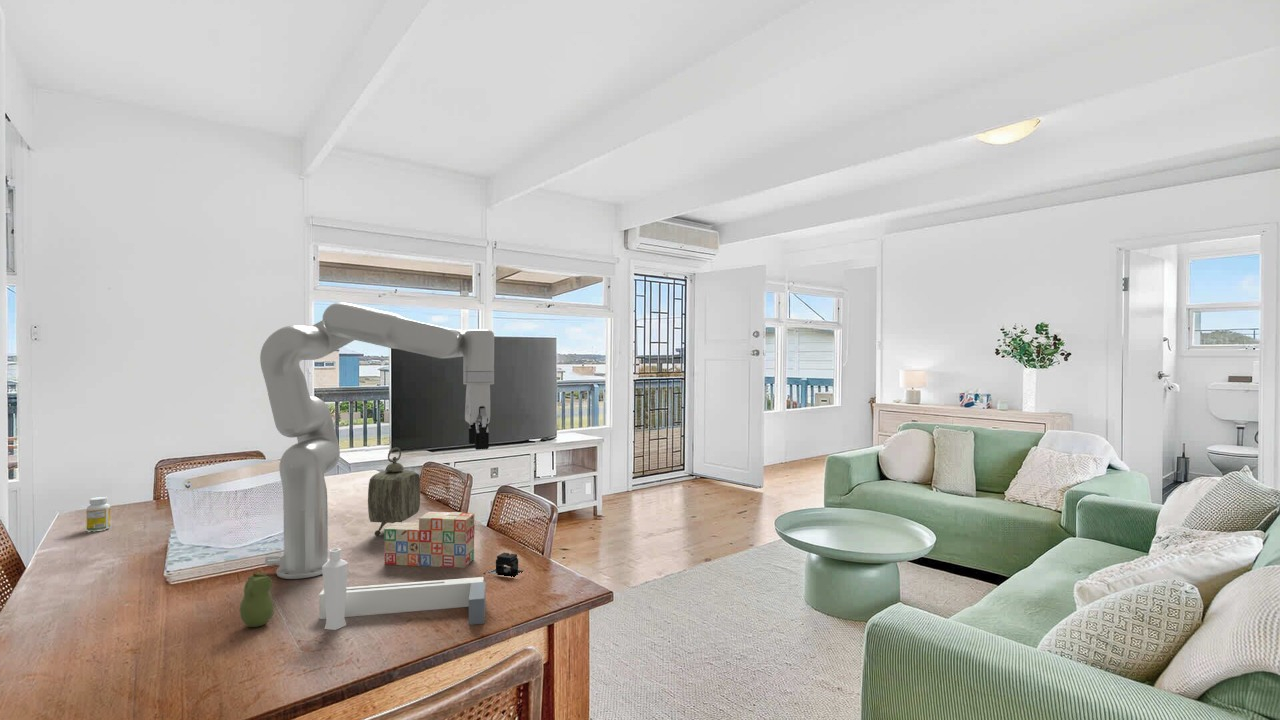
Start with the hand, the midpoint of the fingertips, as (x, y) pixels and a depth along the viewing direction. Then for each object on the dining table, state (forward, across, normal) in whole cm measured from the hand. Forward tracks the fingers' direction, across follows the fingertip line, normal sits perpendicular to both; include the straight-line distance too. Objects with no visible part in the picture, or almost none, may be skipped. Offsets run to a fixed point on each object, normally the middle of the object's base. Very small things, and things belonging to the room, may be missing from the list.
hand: (478, 446), depth 156 cm
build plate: (+31, +9, +6) cm, 32 cm away
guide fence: (+30, +26, -19) cm, 44 cm away
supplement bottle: (+31, -76, -99) cm, 128 cm away
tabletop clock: (+30, -39, -18) cm, 52 cm away
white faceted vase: (+30, +24, -31) cm, 50 cm away
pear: (+30, +18, -45) cm, 57 cm away
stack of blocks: (+30, -7, -11) cm, 33 cm away
